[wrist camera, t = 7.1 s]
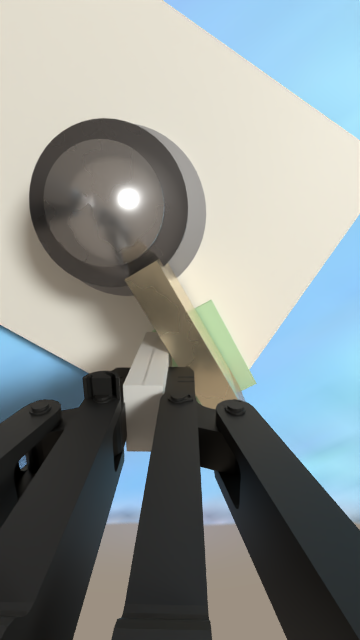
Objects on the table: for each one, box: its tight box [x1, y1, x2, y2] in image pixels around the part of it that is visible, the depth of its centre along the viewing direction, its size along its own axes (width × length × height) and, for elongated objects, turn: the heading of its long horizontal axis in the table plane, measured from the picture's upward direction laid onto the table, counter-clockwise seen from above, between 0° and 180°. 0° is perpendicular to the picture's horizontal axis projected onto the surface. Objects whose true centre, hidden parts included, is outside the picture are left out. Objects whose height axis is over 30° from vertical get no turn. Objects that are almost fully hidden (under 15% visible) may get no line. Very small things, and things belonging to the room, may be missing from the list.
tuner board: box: [0, 0, 360, 405], centre depth 18 cm, size 23×19×1 cm
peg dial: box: [29, 118, 245, 409], centre depth 15 cm, size 16×7×4 cm, turn 30°
